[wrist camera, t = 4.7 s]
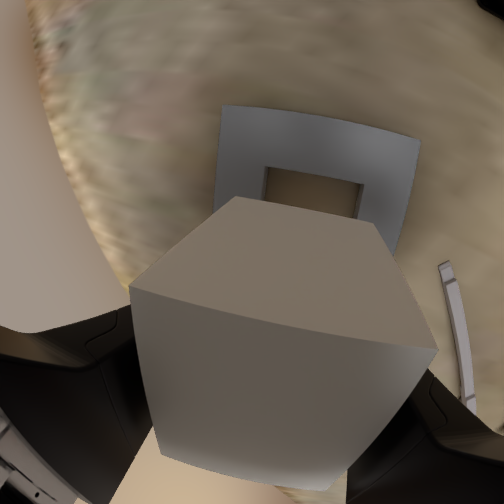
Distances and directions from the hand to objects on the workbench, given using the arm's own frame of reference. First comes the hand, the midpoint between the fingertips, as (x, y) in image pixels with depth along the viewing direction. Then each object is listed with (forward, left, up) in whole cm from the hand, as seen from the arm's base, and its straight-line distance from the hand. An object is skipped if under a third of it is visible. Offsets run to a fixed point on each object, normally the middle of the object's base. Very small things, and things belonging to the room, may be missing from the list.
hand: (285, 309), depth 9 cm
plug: (0, 0, -2) cm, 2 cm away
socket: (0, +1, -11) cm, 11 cm away
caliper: (-17, +10, -12) cm, 23 cm away
